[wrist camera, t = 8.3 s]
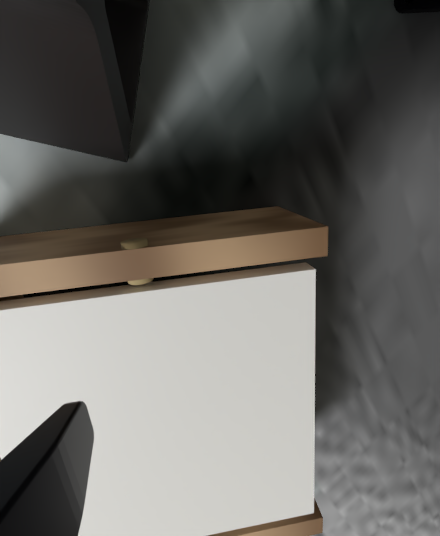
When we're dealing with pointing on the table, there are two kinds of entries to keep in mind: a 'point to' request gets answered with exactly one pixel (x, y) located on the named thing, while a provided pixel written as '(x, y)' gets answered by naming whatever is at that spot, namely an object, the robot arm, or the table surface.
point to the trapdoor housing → (164, 270)
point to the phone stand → (71, 72)
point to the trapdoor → (175, 396)
